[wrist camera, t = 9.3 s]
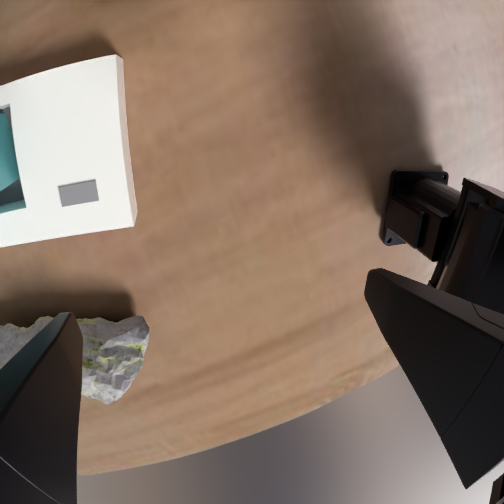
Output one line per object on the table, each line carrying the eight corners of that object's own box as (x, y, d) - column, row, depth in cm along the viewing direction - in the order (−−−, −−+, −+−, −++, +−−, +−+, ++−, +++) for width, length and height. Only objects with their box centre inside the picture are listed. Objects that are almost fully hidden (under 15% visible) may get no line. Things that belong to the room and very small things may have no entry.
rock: (14, 366, 24) (-4, 419, 18) (-15, 308, 20) (-44, 361, 14) (159, 365, 27) (161, 427, 21) (146, 302, 24) (143, 366, 18)
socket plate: (123, 59, 15) (115, 53, 13) (137, 211, 20) (133, 227, 18) (-50, 113, 13) (-71, 118, 10) (-25, 239, 17) (-41, 255, 15)
